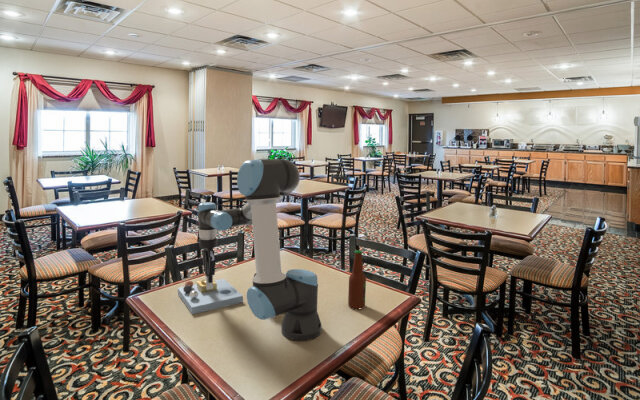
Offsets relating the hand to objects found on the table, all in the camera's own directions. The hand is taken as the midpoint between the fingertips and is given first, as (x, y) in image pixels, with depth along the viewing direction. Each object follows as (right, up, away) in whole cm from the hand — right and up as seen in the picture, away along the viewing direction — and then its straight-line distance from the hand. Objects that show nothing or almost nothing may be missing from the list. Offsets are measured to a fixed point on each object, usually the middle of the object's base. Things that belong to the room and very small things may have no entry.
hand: (209, 288), depth 166 cm
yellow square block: (-2, -1, +4) cm, 4 cm away
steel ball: (-5, -3, -7) cm, 9 cm away
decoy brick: (-11, -1, +4) cm, 11 cm away
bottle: (+66, -7, -5) cm, 66 cm away
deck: (0, -4, +1) cm, 5 cm away
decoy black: (-9, -2, -1) cm, 10 cm away
